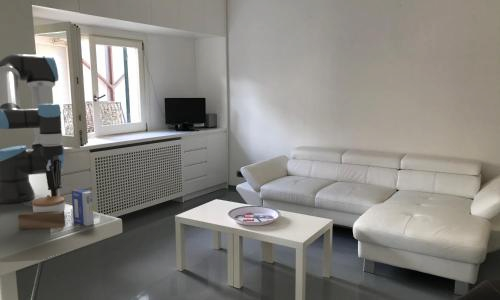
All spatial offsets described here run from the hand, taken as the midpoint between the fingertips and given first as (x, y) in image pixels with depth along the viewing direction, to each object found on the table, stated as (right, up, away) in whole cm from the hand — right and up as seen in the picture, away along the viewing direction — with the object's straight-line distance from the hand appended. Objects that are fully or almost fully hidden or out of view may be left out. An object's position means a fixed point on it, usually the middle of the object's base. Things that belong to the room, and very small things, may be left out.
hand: (56, 205), depth 154 cm
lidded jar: (+1, -5, -7) cm, 8 cm away
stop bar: (+2, -5, -14) cm, 16 cm away
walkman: (+15, -5, -10) cm, 18 cm away
